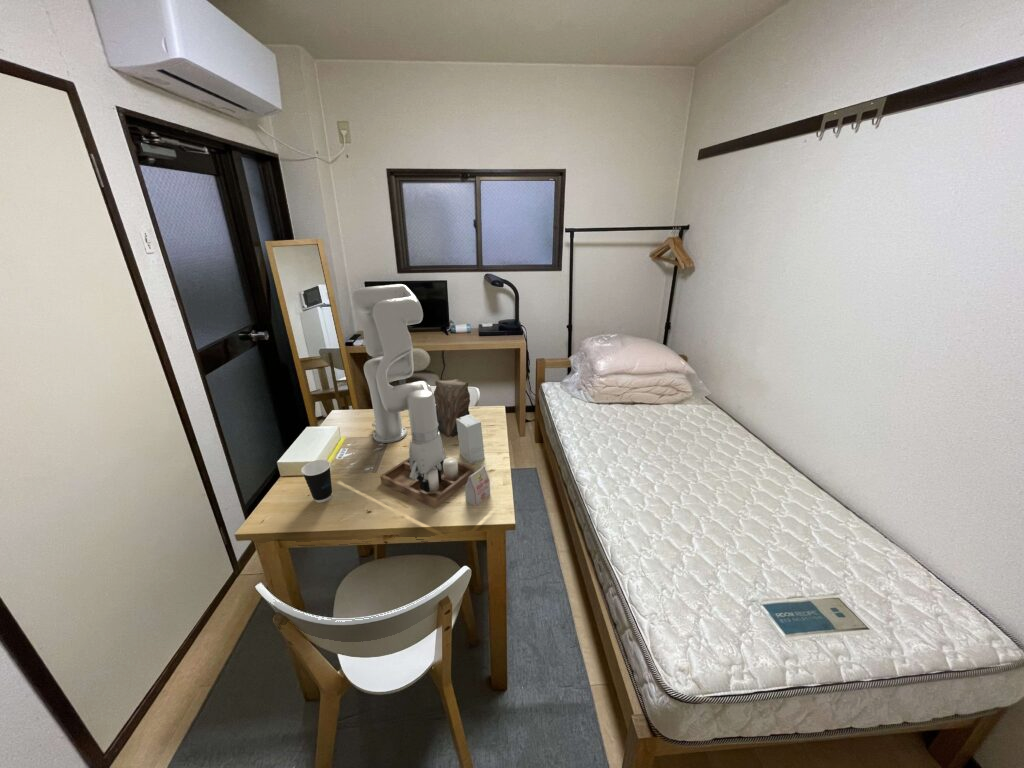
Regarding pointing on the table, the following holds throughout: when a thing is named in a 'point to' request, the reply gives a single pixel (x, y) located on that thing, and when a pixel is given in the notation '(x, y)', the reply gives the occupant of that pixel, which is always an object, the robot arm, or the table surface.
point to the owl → (451, 404)
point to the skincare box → (470, 438)
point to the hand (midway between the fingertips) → (431, 485)
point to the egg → (433, 479)
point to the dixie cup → (318, 479)
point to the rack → (411, 487)
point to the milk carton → (477, 487)
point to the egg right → (450, 469)
